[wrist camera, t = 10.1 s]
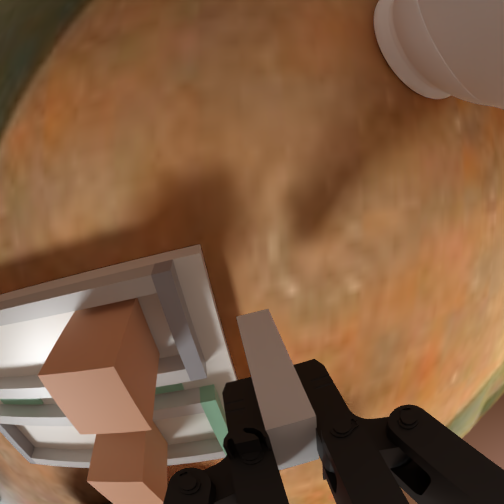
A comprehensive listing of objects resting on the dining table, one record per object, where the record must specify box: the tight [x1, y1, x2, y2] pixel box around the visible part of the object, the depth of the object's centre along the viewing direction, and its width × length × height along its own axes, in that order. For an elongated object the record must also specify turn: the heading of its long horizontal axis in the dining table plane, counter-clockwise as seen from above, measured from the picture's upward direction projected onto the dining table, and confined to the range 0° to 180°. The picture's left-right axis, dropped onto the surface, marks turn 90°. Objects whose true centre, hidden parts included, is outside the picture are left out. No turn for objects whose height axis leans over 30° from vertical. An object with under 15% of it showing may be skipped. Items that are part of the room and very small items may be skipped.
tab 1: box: [38, 298, 160, 434], centre depth 14 cm, size 4×4×6 cm
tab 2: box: [87, 422, 168, 504], centre depth 17 cm, size 4×4×6 cm
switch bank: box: [0, 244, 238, 468], centre depth 18 cm, size 24×16×3 cm, turn 100°
